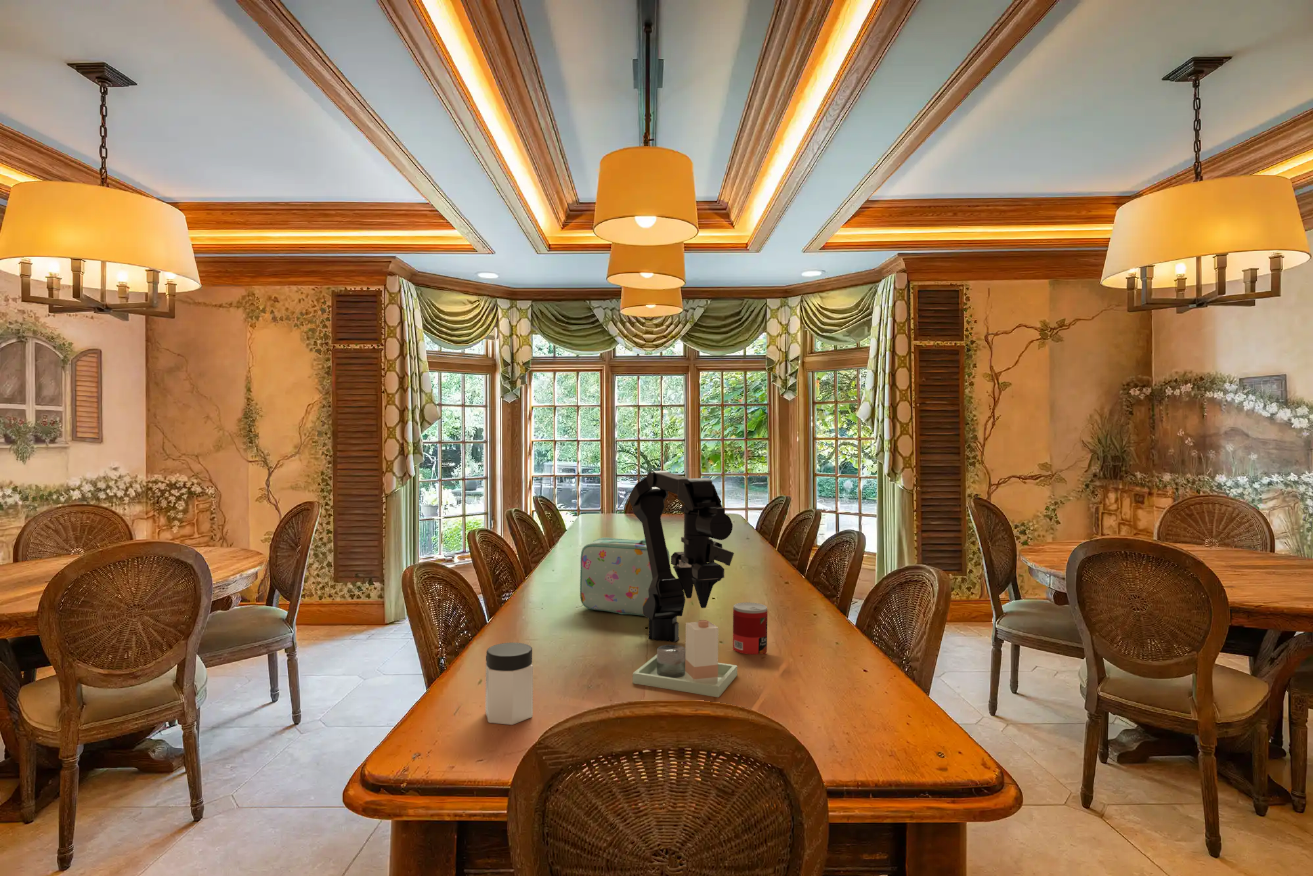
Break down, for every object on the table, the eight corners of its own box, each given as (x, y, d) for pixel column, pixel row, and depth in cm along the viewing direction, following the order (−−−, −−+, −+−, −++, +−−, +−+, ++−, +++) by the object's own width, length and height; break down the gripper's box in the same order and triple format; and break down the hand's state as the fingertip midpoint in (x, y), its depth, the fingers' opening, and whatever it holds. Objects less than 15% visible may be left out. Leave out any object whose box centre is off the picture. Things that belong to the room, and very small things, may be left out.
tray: (632, 688, 137) (632, 673, 137) (657, 667, 149) (657, 653, 149) (718, 702, 130) (718, 686, 130) (737, 679, 142) (737, 665, 142)
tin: (652, 675, 141) (652, 651, 141) (663, 666, 147) (663, 643, 147) (679, 679, 139) (679, 655, 139) (689, 670, 144) (689, 647, 144)
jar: (514, 702, 129) (515, 638, 129) (542, 713, 124) (543, 648, 124) (474, 716, 122) (475, 650, 122) (502, 729, 117) (503, 660, 117)
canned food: (766, 659, 155) (766, 611, 155) (731, 657, 156) (731, 609, 156) (767, 649, 162) (768, 603, 162) (734, 646, 164) (734, 601, 164)
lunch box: (676, 611, 196) (677, 537, 196) (665, 620, 186) (665, 542, 186) (591, 602, 205) (592, 531, 205) (576, 611, 195) (577, 536, 195)
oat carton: (685, 682, 138) (685, 617, 138) (708, 679, 139) (708, 616, 139) (693, 691, 133) (694, 624, 133) (717, 688, 134) (718, 622, 134)
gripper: (746, 538, 147) (746, 610, 147) (714, 527, 165) (713, 591, 165) (698, 540, 144) (698, 614, 144) (670, 528, 162) (669, 594, 162)
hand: (696, 602), depth 154 cm, fingers open, 9 cm apart
